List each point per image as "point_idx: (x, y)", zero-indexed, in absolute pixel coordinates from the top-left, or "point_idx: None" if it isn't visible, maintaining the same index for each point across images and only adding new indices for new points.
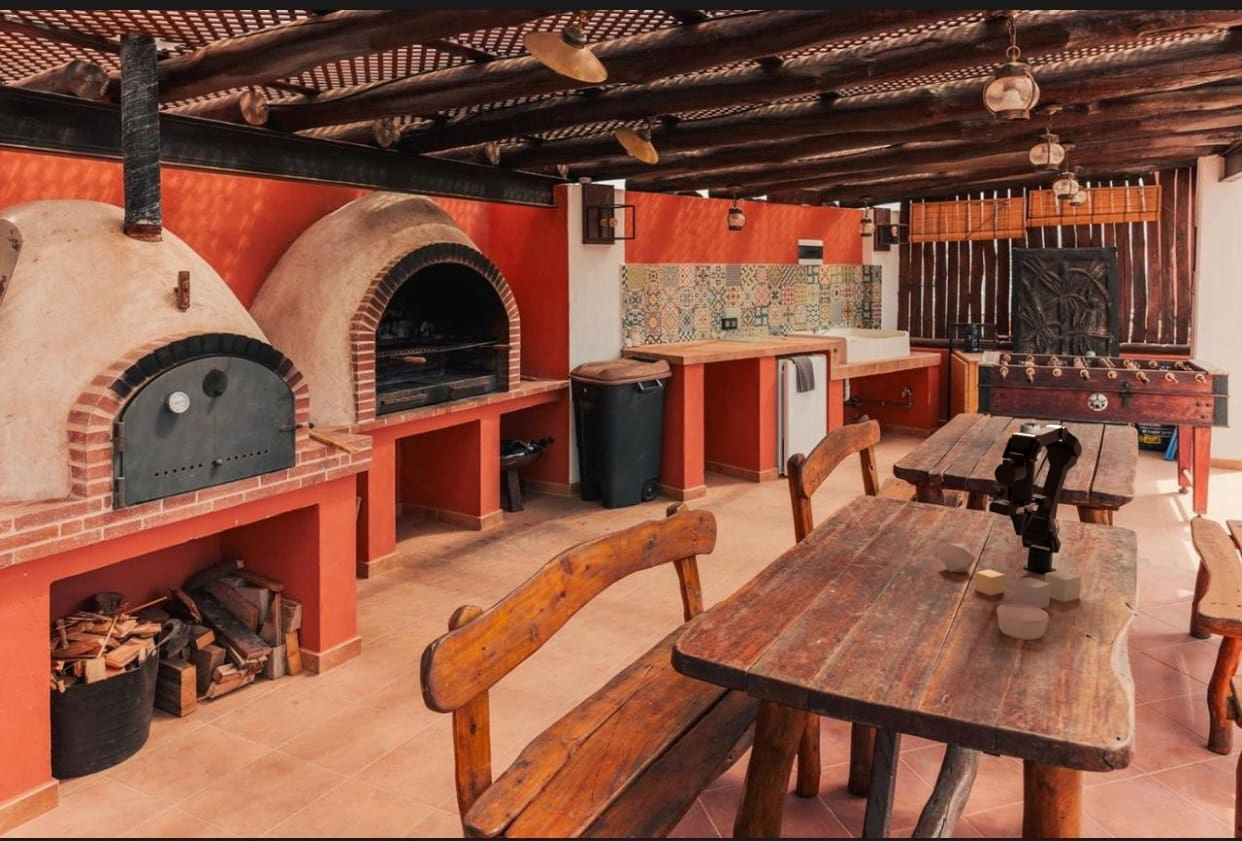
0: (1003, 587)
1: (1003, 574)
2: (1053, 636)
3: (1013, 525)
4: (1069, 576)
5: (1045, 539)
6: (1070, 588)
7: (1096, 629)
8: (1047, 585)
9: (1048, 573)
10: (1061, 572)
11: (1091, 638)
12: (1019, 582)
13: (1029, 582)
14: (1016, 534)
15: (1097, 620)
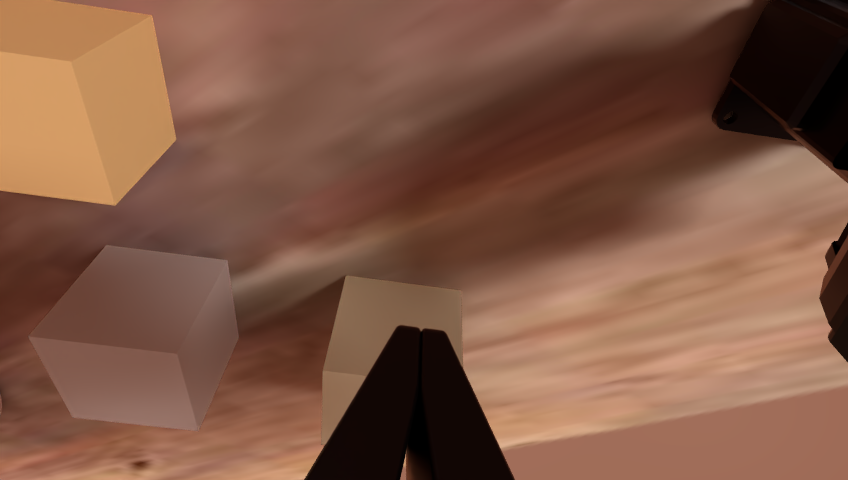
0: (159, 154)
1: (107, 200)
2: (27, 428)
3: (321, 456)
4: None
5: (837, 344)
6: None
7: (207, 462)
8: (174, 424)
9: (339, 378)
10: None
11: (135, 472)
12: (40, 358)
13: (102, 381)
14: (393, 335)
15: (277, 447)
